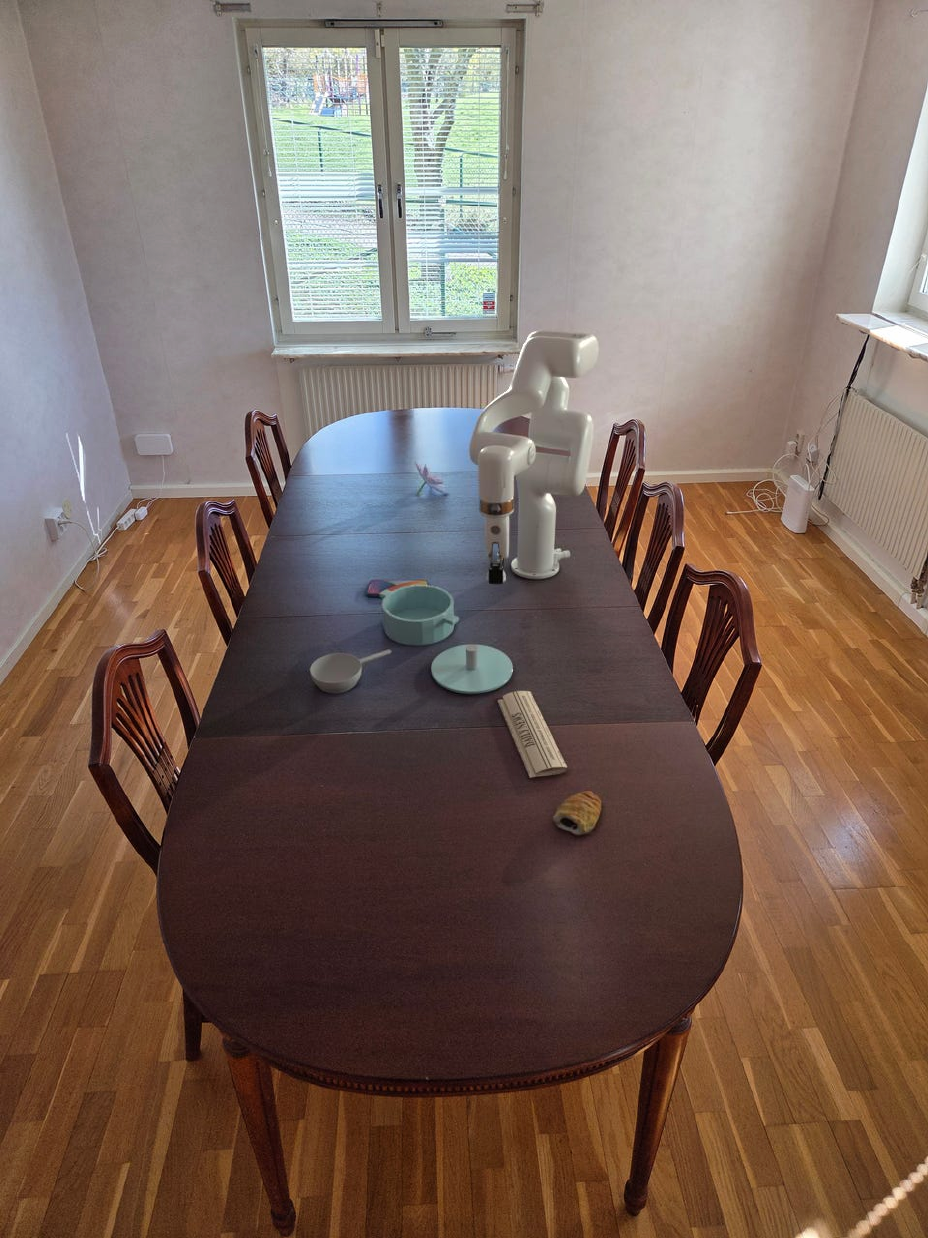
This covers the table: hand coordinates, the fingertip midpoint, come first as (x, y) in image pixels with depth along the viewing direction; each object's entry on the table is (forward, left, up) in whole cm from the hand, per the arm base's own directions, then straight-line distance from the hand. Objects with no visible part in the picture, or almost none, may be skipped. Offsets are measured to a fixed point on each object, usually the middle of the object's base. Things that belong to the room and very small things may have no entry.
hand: (496, 576), depth 185 cm
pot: (+16, -8, -13) cm, 22 cm away
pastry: (+13, +61, -13) cm, 64 cm away
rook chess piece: (0, 0, -1) cm, 1 cm away
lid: (+12, +14, -13) cm, 23 cm away
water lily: (-16, -81, -13) cm, 83 cm away
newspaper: (+11, +38, -13) cm, 42 cm away
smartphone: (+15, -26, -13) cm, 33 cm away
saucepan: (+36, +5, -13) cm, 39 cm away
